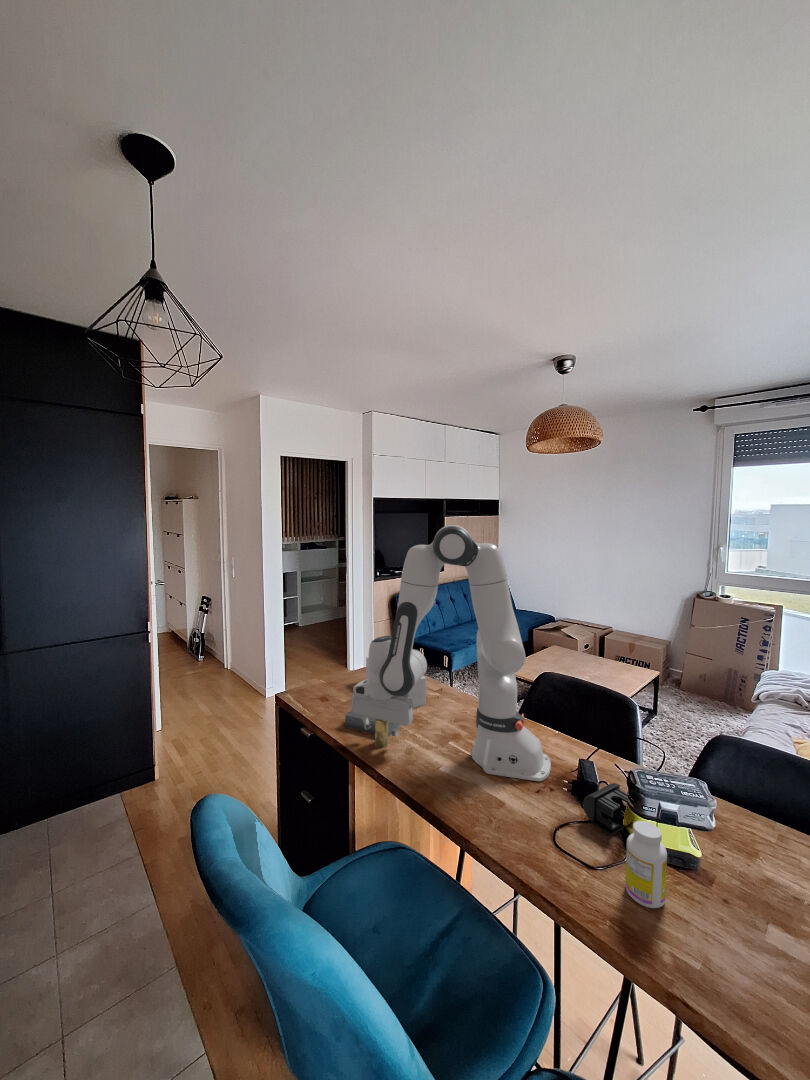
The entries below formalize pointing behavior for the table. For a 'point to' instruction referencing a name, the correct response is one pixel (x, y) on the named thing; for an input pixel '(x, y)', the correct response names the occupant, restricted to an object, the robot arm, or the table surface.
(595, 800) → the end cap
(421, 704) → the light gray rectangular block
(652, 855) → the supplement bottle
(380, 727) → the peg
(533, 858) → the table surface
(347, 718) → the jig
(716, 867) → the table surface
